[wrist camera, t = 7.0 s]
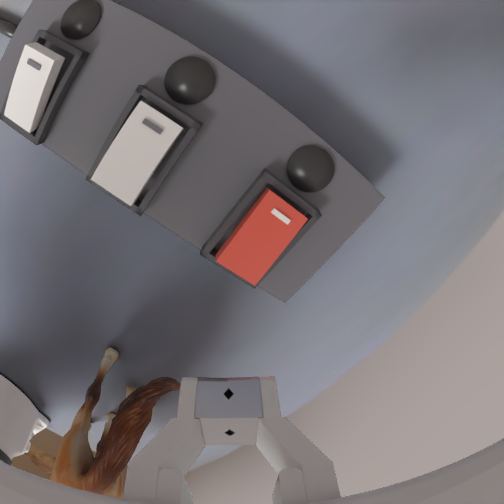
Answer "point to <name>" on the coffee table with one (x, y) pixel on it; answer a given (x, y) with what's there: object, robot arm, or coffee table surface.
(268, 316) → the coffee table surface
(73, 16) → the grey switch panel
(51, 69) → the grey rocker end
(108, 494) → the horse figurine
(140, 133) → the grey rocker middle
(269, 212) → the red rocker
